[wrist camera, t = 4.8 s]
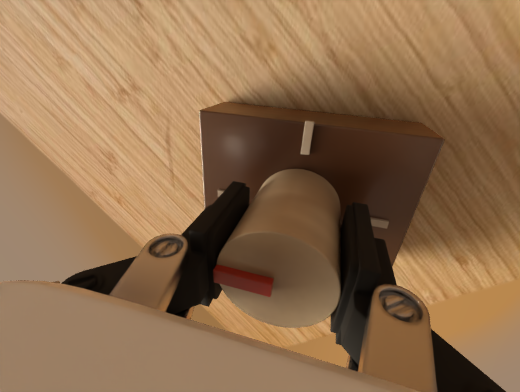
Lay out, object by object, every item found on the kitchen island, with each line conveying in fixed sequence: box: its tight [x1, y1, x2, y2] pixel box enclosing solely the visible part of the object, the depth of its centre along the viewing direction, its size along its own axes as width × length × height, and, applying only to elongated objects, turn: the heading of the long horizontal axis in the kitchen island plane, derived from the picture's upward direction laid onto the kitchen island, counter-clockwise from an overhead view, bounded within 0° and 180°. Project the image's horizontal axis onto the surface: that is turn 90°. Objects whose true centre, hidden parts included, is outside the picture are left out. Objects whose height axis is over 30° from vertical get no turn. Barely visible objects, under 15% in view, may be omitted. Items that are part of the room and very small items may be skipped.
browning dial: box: [213, 169, 341, 328], centre depth 10 cm, size 4×4×5 cm
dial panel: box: [199, 102, 444, 266], centre depth 13 cm, size 10×8×3 cm
